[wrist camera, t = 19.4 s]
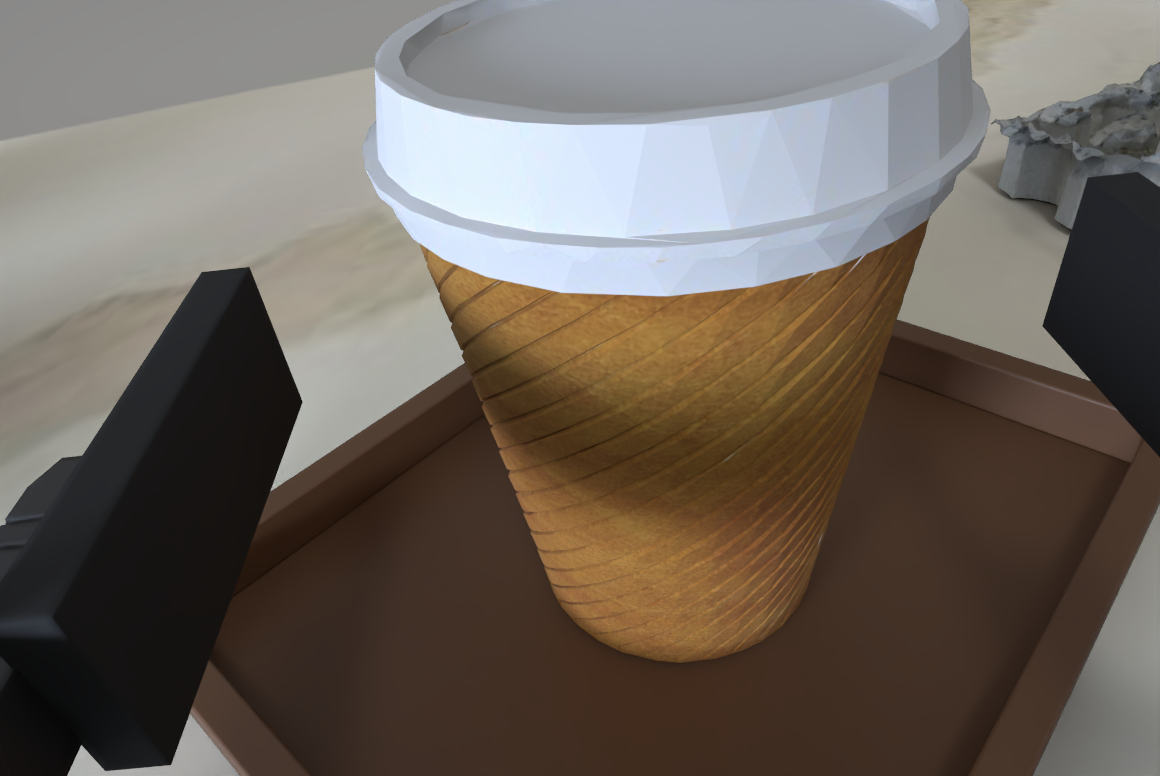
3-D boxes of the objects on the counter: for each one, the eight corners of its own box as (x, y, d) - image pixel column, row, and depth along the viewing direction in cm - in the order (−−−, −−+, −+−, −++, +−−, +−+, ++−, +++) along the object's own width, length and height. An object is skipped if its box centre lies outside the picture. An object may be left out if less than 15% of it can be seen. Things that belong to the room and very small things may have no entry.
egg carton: (1189, 137, 36) (1225, 41, 34) (1345, 206, 31) (1402, 96, 28) (967, 175, 35) (987, 79, 33) (1083, 254, 30) (1119, 144, 27)
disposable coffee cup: (878, 436, 22) (966, -64, 15) (894, 782, 15) (1083, 143, 7) (542, 406, 24) (471, -37, 17) (416, 692, 17) (200, 141, 10)
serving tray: (147, 660, 19) (103, 600, 18) (651, 295, 30) (649, 239, 29) (739, 1397, 10) (744, 1393, 9) (1167, 483, 21) (1201, 414, 19)
